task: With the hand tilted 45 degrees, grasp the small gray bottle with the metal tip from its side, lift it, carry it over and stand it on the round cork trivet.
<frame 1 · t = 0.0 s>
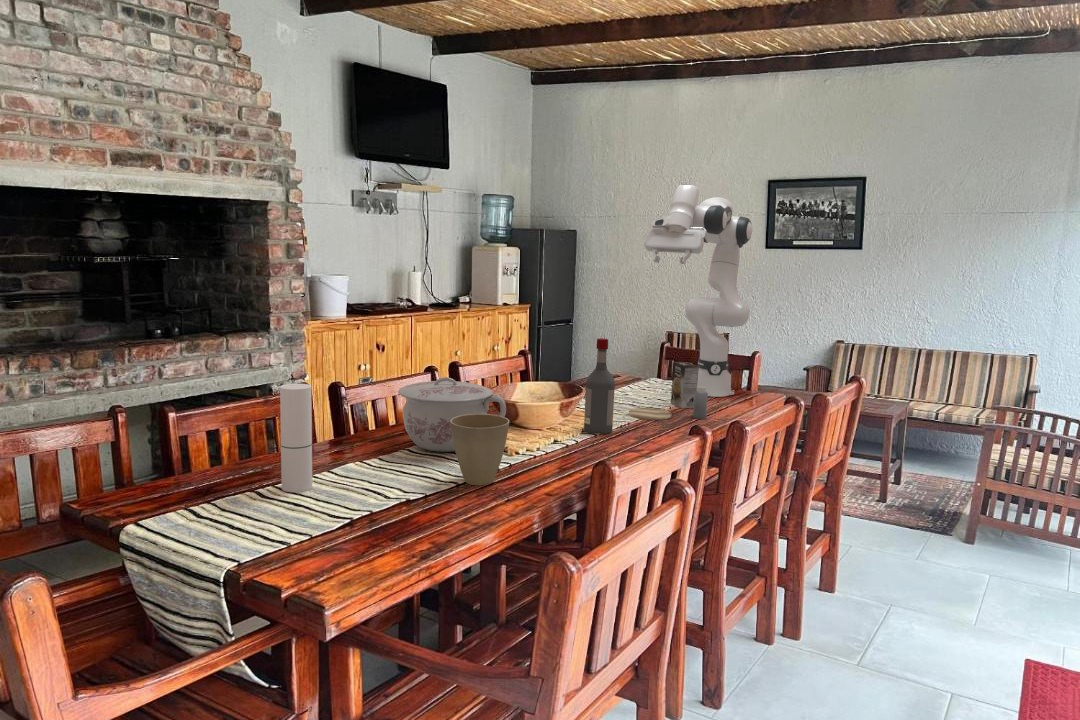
hand: (669, 262, 272), 54 cm above the table, tool tilted 30°, fingers open, 8 cm apart
small gray bottle: (699, 417, 285), on the table
coffee box: (683, 406, 304), on the table
liquor: (598, 431, 261), on the table
chamber pot: (445, 447, 236), on the table
trivet: (650, 415, 285), on the table
cylindrical container: (297, 488, 195), on the table
plant pot: (478, 482, 205), on the table
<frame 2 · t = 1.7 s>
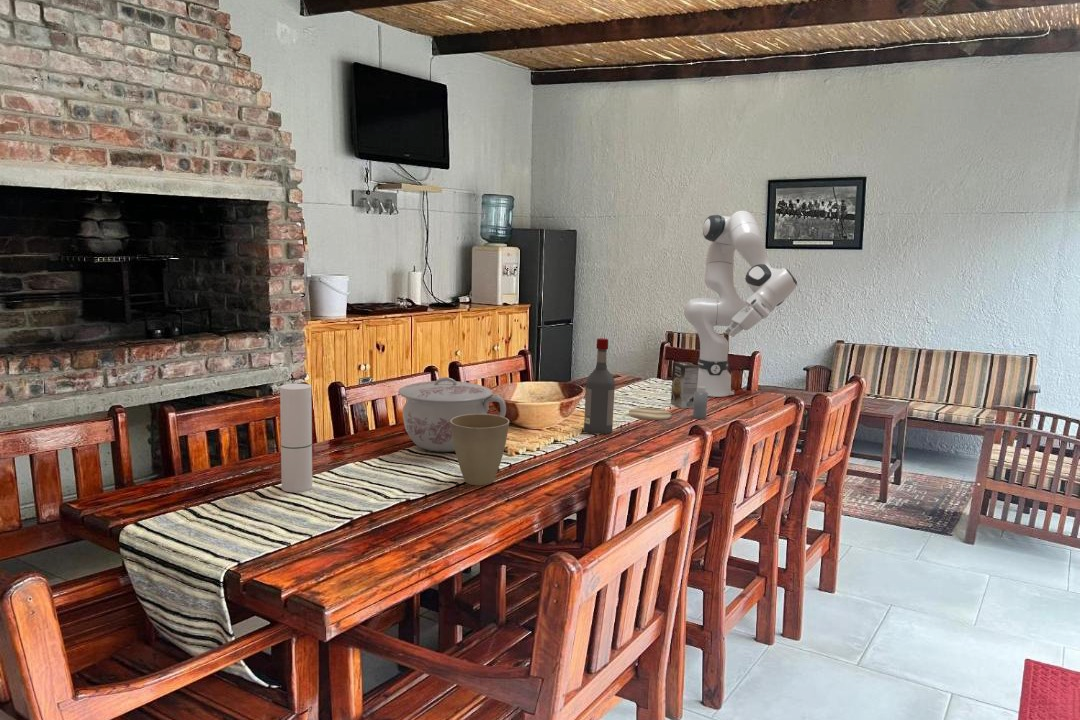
hand: (728, 334, 284), 30 cm above the table, tool tilted 45°, fingers open, 8 cm apart
nothing on the table moved.
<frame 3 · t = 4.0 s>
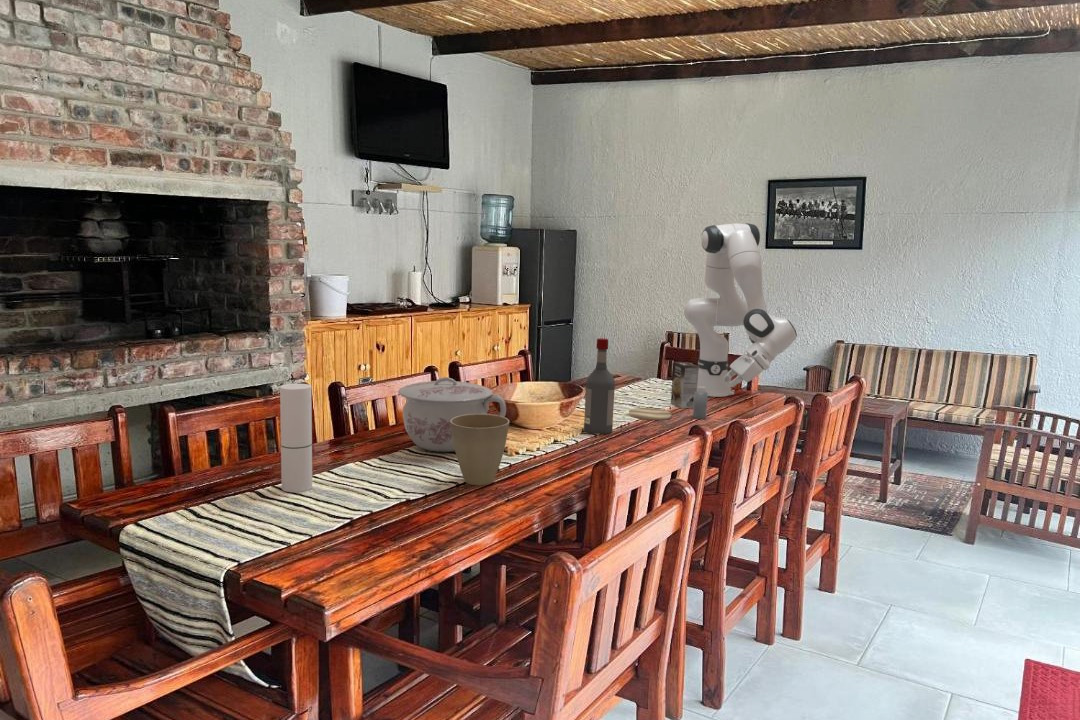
hand: (727, 383, 283), 13 cm above the table, tool tilted 45°, fingers open, 8 cm apart
nothing on the table moved.
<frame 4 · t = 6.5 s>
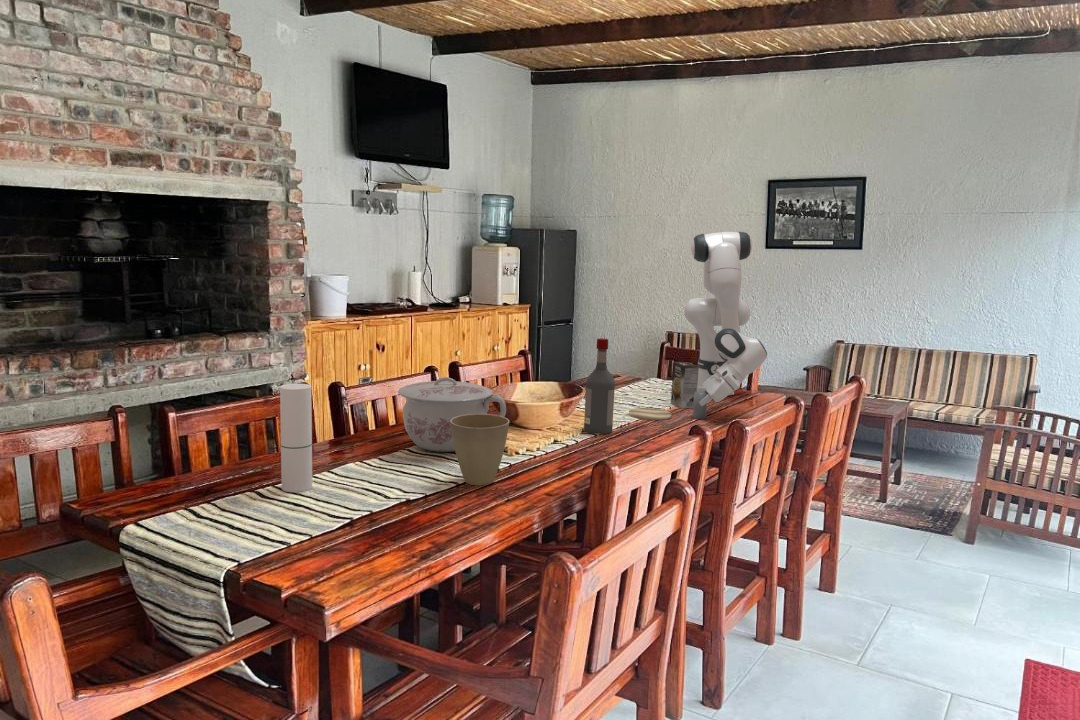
hand: (698, 402, 284), 5 cm above the table, tool tilted 45°, fingers closed on small gray bottle, 5 cm apart
small gray bottle: (699, 417, 285), on the table, touching gripper
everything else where it was.
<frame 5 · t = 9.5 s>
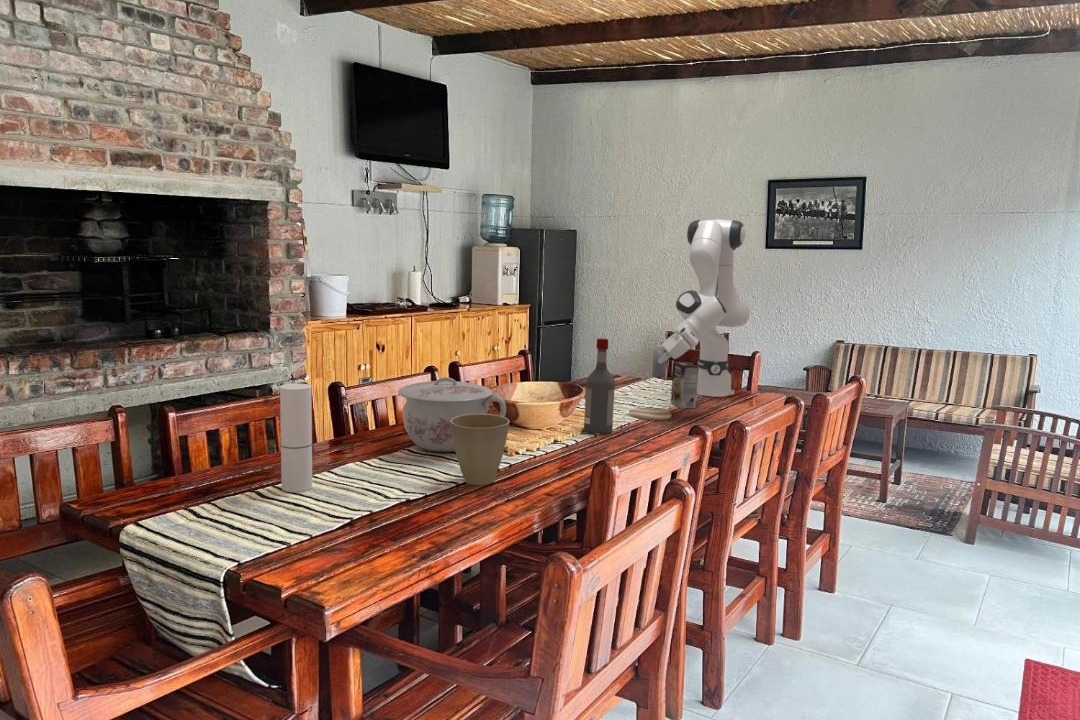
hand: (657, 361, 282), 20 cm above the table, tool tilted 45°, fingers closed on small gray bottle, 5 cm apart
small gray bottle: (658, 376, 283), point 14 cm above the table, touching gripper
everything else where it was.
when the fingers open (7 cm above the table, at t = 12.4 s): small gray bottle stays where it is, resting on trivet.
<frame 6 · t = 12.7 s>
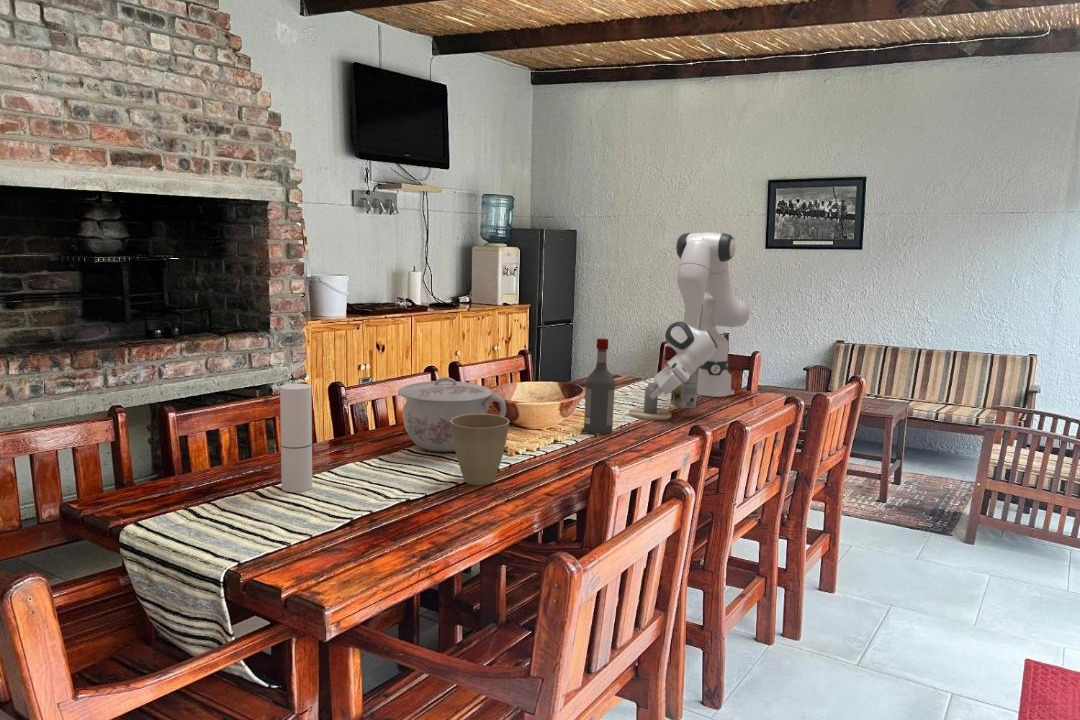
hand: (649, 395, 284), 7 cm above the table, tool tilted 45°, fingers open, 7 cm apart
small gray bottle: (650, 412, 285), point 1 cm above the table, touching trivet
everything else where it was.
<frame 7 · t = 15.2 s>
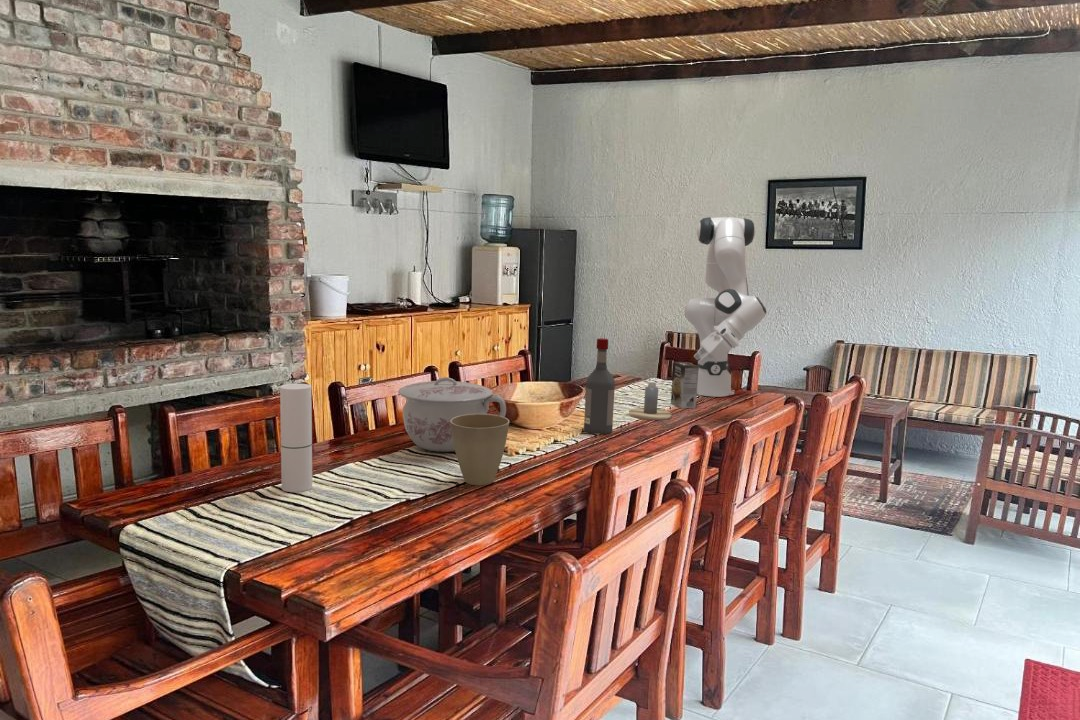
hand: (697, 360, 283), 20 cm above the table, tool tilted 45°, fingers open, 8 cm apart
nothing on the table moved.
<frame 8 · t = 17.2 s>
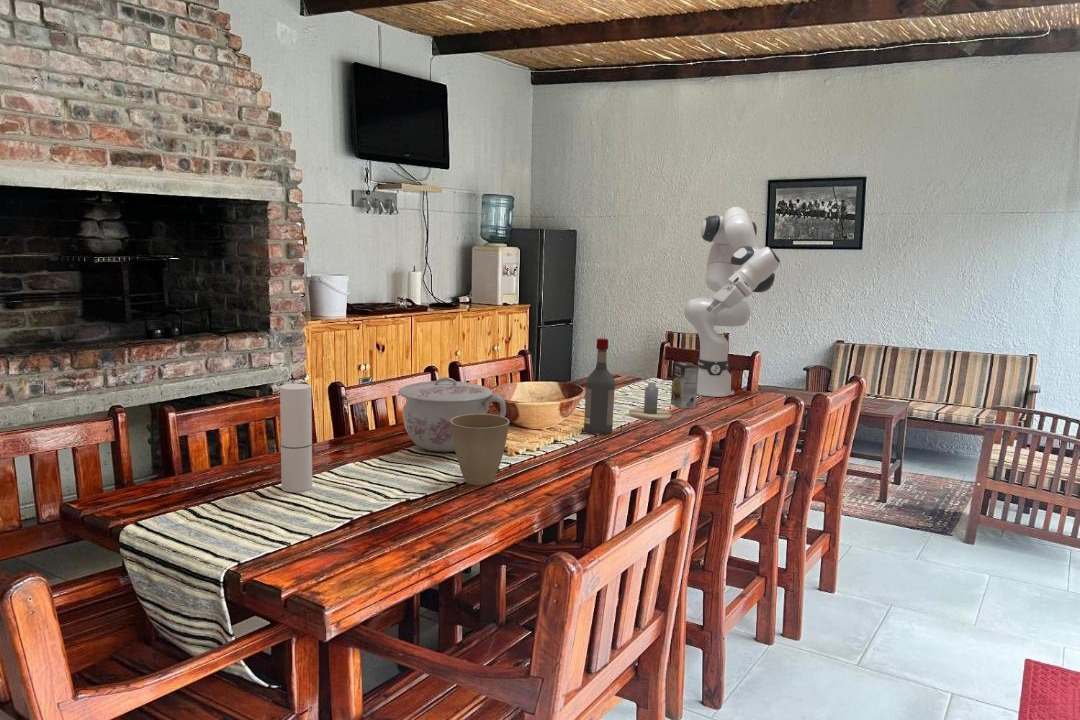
hand: (709, 312, 281), 37 cm above the table, tool tilted 45°, fingers open, 8 cm apart
nothing on the table moved.
at the end: small gray bottle inside the target area on the trivet (0.0 cm from its centre), point 1.0 cm above the trivet's base; small gray bottle tilted 0°; the gripper is holding nothing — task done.
